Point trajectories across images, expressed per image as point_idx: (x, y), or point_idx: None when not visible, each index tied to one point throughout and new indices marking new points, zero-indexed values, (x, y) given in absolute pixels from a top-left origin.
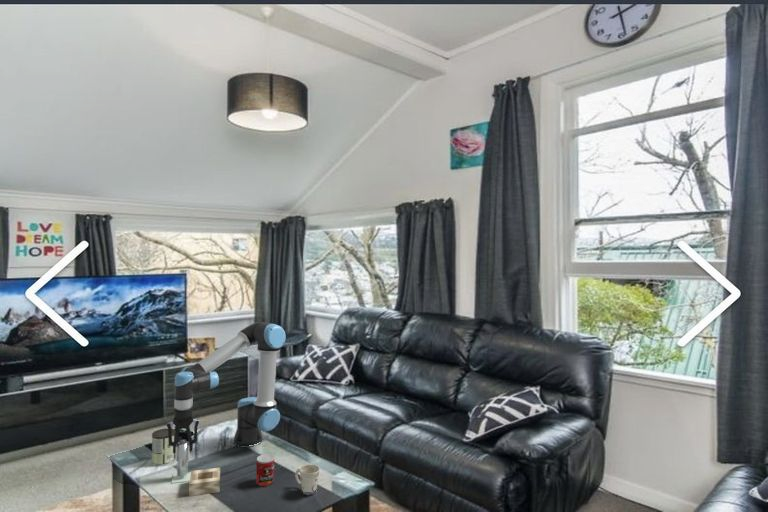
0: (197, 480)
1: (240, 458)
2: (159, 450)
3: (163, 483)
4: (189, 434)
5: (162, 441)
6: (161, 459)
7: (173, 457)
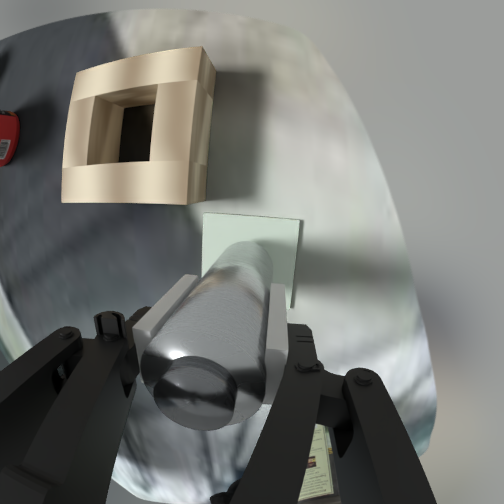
0: (159, 76)
1: None
2: None
3: (336, 237)
4: (56, 416)
5: None
6: None
7: None
